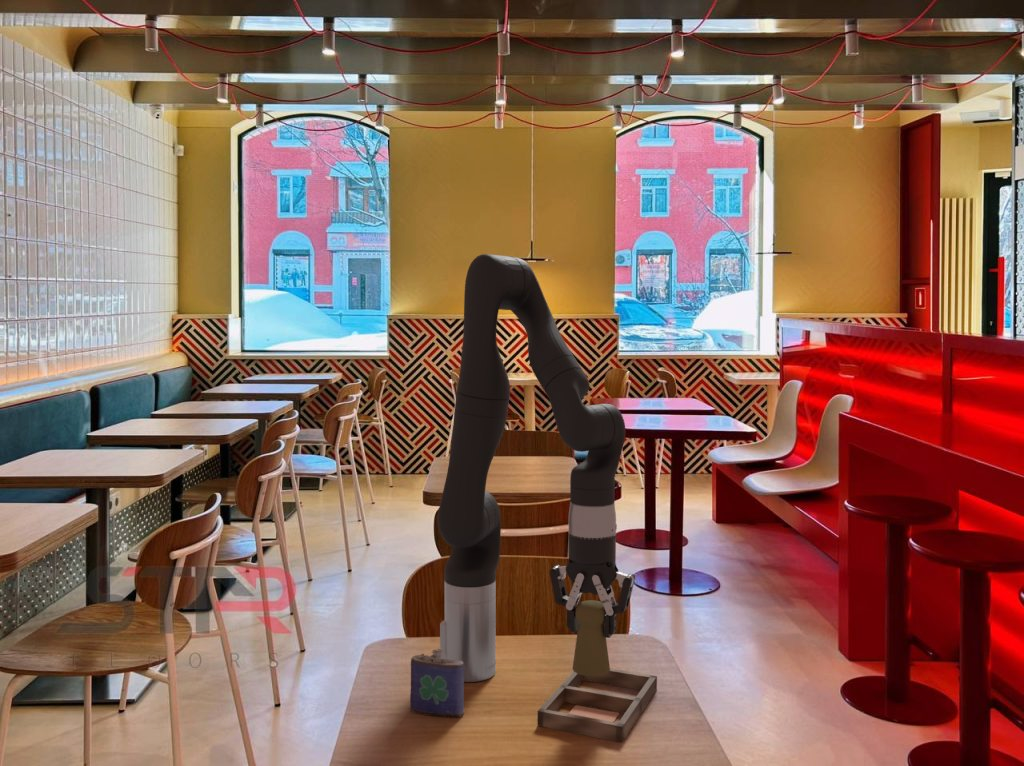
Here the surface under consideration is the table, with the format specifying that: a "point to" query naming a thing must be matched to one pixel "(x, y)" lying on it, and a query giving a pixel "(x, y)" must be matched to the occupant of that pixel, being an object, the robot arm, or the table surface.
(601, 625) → the cork
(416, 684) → the flask
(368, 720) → the table surface
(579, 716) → the caddy
